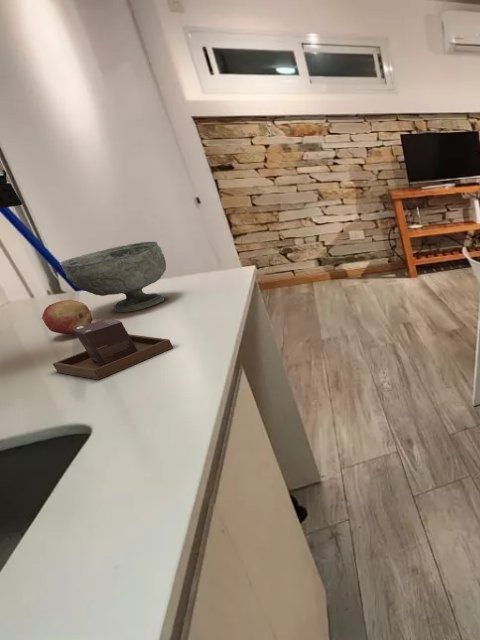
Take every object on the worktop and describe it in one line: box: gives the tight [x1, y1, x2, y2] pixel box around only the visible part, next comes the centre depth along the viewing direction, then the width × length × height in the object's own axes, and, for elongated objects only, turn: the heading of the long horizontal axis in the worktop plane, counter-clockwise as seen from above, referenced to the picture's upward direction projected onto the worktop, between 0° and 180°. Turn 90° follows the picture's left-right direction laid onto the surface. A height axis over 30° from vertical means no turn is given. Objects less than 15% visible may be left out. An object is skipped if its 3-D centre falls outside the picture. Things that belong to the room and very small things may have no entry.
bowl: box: [59, 240, 167, 313], centre depth 123 cm, size 20×19×15 cm
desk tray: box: [51, 333, 174, 381], centre depth 96 cm, size 13×13×2 cm
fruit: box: [41, 299, 93, 336], centre depth 110 cm, size 8×8×8 cm
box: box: [73, 317, 138, 366], centre depth 95 cm, size 6×6×7 cm
